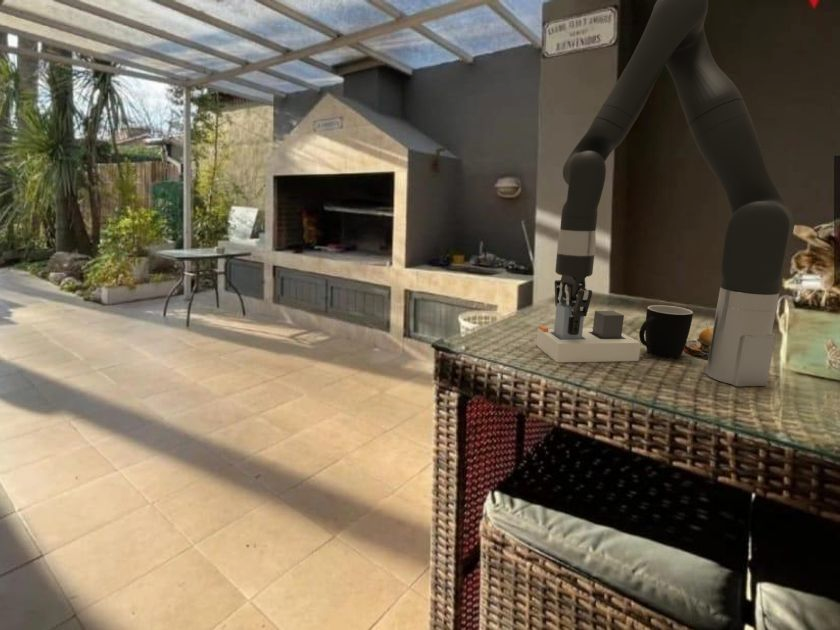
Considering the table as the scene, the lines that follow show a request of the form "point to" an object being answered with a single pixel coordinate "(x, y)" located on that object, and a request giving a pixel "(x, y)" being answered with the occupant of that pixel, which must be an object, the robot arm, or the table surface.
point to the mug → (666, 330)
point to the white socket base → (592, 342)
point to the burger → (700, 345)
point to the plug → (565, 323)
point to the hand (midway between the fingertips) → (568, 330)
